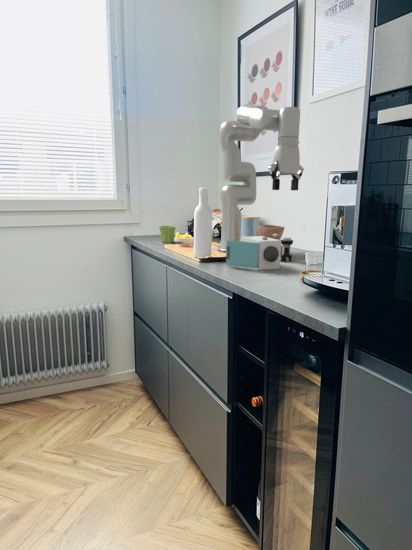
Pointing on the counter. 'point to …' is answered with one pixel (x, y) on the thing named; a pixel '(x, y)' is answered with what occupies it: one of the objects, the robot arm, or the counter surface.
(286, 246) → the push button
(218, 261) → the counter surface
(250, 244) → the side door
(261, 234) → the ceramic jug
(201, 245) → the bottle
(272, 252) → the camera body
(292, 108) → the robot arm
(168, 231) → the plant pot
